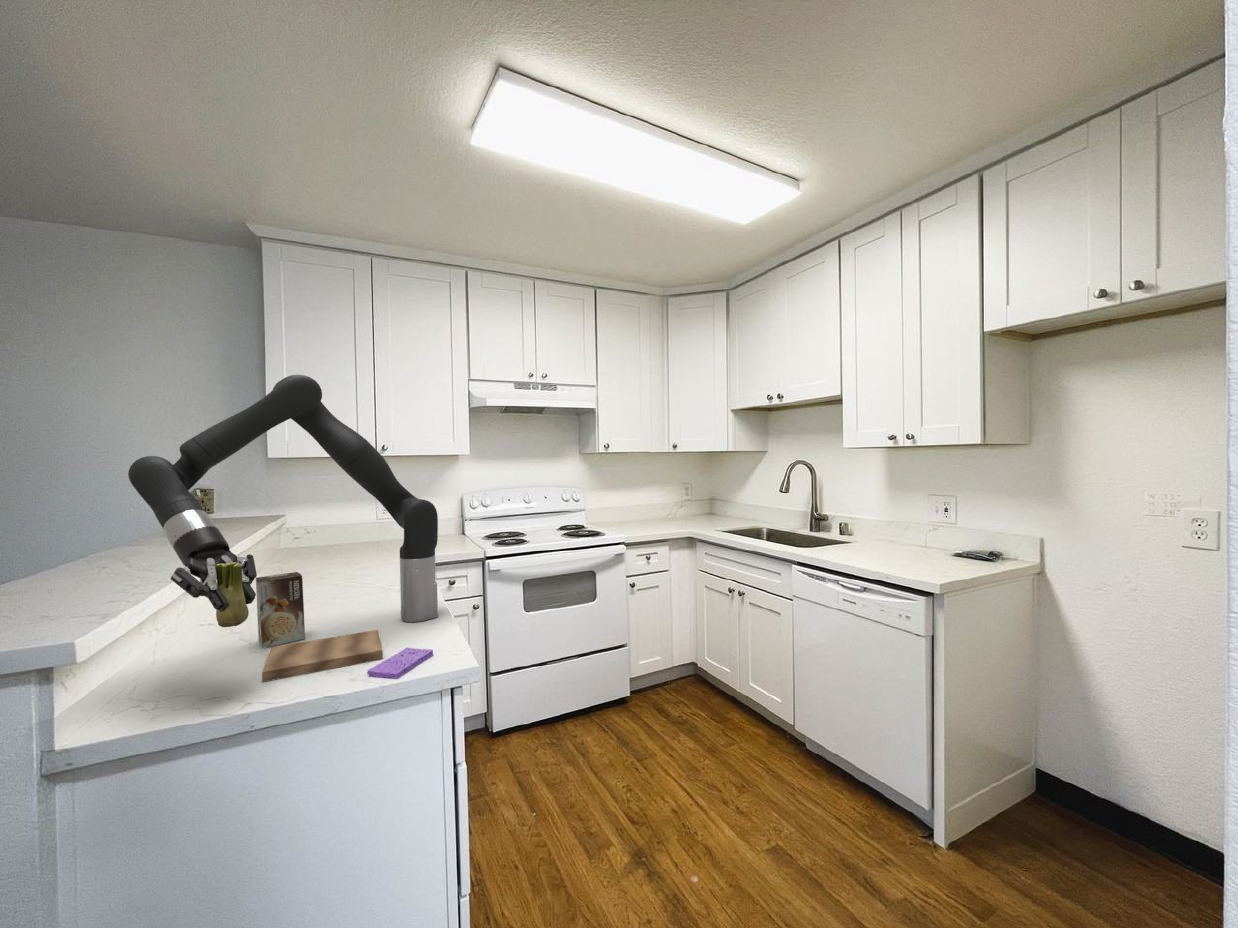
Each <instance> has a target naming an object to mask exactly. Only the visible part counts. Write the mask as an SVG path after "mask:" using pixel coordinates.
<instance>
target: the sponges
mask: <svg viewBox="0 0 1238 928" xmlns="http://www.w3.org/2000/svg"><path fill="white" fill-rule="evenodd" d="M432 656H434V649H432V648H431V649H429V648H423V649H422V648H414V647H405V648H403V649H402V650H400V651H399V652H397V653H396V654H394V655H391V656H390V657H388V658H386V659H384V660H383V661H381V662H379V663H378V664H376V665H375V666H372V667H370V668H369V669H367V672H366V673H367V674H366V675H368V676H369V678H378V679H379V678H381V679H389V680H398V679H400V677H402V676H403V675H406V673H409V672H410V671H411V670H413V669H414V668H416V667H418V666H419V665H421V664H422V663H423V662H425V661H427V660H428V659H429V658H431V657H432Z"/></svg>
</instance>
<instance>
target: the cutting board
mask: <svg viewBox="0 0 1238 928" xmlns="http://www.w3.org/2000/svg"><path fill="white" fill-rule="evenodd" d="M379 632H380V631H379V629H374V630H368V631H362V632H357V633H349V634H344V635H339V636H332V637H326V638H320V639H313V640H307V641H303V642H296V643H295V642H294V643H289V644H282V645H276V646H270V650H269V652H268V656H267V658H266V660H265V663H264V666H263V669H262V671H261V679H262V680H261V681H262V683H264V682H263V681H265V682H268V681H267V680H270V681H273V680H272V679H275V680H278V679H277V678H280V679H284V678H290V677H295V676H300V675H305V674H311V673H315V672H321V671H327V670H332V669H336V668H337V669H338V668H342V667H346V666H352V665H358V664H362V663H363V664H364V663H367V662H368V663H369V662H374V661H379V660H383V647H382V642H381V638H380V633H379Z"/></svg>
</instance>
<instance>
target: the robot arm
mask: <svg viewBox="0 0 1238 928" xmlns="http://www.w3.org/2000/svg"><path fill="white" fill-rule="evenodd" d="M322 398H323V392H322V388H321V385H320V384H319V383H318V382H317V381H316V380H315V379H314V378H312V377H310V376H308V375H304V374H291V375H288V376H285V377H283V378H282V379H281V380H278V382H276V383H275V384H274V386H273V388H272V390H271V391H270V392H269V393H268V394H266V395H265V396H263V397H262V398H260V400H258V401H256V402H254V403H253V404H252V405H250V406H247V408H245V409H243V410H241V411H240V412H237V413H235V414H233V415H231V416H230V417H228V418H226V419H224V420H221V421H219V422H218V423H216V424H214V425H212V426H210V427H208V428H206V429H205V430H204V431H201V432H199V433H198V434H197V435H195V436H193V437H191V438H190V439H188V440H186V441H185V442H183V443H182V444H181V445H180V446H179V453H180V457H179V458H178V459H177V461H176V462H175V463H174V464H173V463H172V462H171V461H170V460H168V459H166V458H164V457H161V456H156V455H147V456H142V457H140V458H138V459H136V460H135V461H133V463H131V465H130V466H129V469H128V472H127V473H128V480H129V482H130V484H131V486H132V487H133V488H134V489H135V490H136V492H137V493H138V495H140V497H141V498H142V499H143V500H144V501H145V502H146V504H147V505H148V506H149V507H150V509H151V511H153V514H154V515H155V518H156V519H157V521H158V523H159V524H160V526H161V527H162V529H163V531H164V533H165V536H166V539H167V541H168V542H169V544H170V545H171V547H172V548H173V551H174V552H175V553H176V555H177V557H178V558H179V560H180V562H181V563H182V565H183V567H176V569H175V570H174V572H173V573H172V575H171V577H170V580H171V582H173V583H174V584H176V585H177V586H178V587H179V588H180V589H182V590H184V591H185V592H186V593H187V594H188V595H190V596H191V597H192V598H194V599H197V598H199V597H205V598H206V599H208V601H209V602H210V604H211V605H212V607H213V608H214V610H219V611H220V612H221V611H225V610H226V609H227V607H228V606H229V603H228V601H227V600H226V598H225V596H224V595H223V593H222V592H221V590H220V589H218V590H217V588H218V587H217V575H218V574H217V570H216V565H217V564H223V563H224V564H228V563H229V564H230V566H231V563H233V562H236V563H237V564H241V565H242V586H243V592H244V596H245V601H246V605H249V604H252V603H253V602H254V600H255V599H256V597H257V594H256V591H255V590H254V588H253V586H252V583H253V581H254V580H256V578H257V576H258V575H257V569H256V563H255V559H254V555H253V554H250V553H249V554H247V555H246V556H237V555H236V554H235V553H234V552H232V551H231V549H230V546H229V543H228V541H227V540H226V538H225V537H224V536H223V534H222V532H221V531H220V529H219V527H217V525H216V523H215V521H213V519H212V517H211V516H209V515H208V514H207V512H206V511H205V509H204V507H203V506H202V505H201V503H200V501H199V500H198V499H197V498H196V496H194V495H193V494H192V493H191V492H190V491H189V490H191V489H192V488H193V487H194V486H195V485H196V484H197V483H198V482H199V481H200V480H202V478H203V477H204V476H205V475H206V474H207V472H208V471H209V470H210V469H212V468H213V467H215V466H216V465H218V464H220V463H221V462H223V461H225V460H227V459H228V458H229V457H231V456H233V455H234V454H235V453H236V454H237V452H240V450H241V449H243V448H245V447H246V446H247V445H250V443H251V442H254V441H255V440H256V439H257V438H259V437H260V436H262V435H263V434H265V433H267V432H268V431H269V430H271V429H273V428H275V427H277V426H279V425H281V424H282V423H284V422H286V421H288V420H290V419H291V420H292V421H293V422H295V423H296V424H297V425H298V426H299V427H301V428H302V429H303V430H304V431H306V432H307V433H308V434H309V436H311V437H312V438H313V439H314V440H315V441H316V442H317V444H318V445H320V447H321V448H322V449H323V451H324V452H326V454H328V455H329V457H330V458H331V459H332V460H333V461H334V462H335V463H336V464H337V466H339V467H340V468H341V469H342V470H343V472H345V473H346V474H347V475H348V476H349V477H350V478H351V479H352V480H354V481H355V482H356V483H357V484H358V485H359V486H360V487H362V489H363V490H365V491H366V492H368V494H370V495H371V496H372V497H374V498H375V500H377V501H378V502H379V503H380V504H381V505H382V507H384V509H385V510H386V511H387V513H388V514H389V515H390V516H391V517H392V518H393V520H394V521H395V522H396V523H397V525H398V526H399V527H400V528H402V529H403V543H402V545H401V547H400V548H399V580H400V581H399V583H400V584H399V586H400V587H399V588H400V589H399V590H400V593H399V594H400V620H401V621H402V620H403V622H406V623H407V622H408V623H417V622H424V621H428V620H431V619H433V618H438V617H439V612H438V611H439V608H438V603H439V601H438V599H439V598H438V583H437V578H436V574H437V573H436V547H437V545H438V537H439V536H438V535H439V530H438V529H439V527H438V526H439V517H438V510H437V508H436V506H435V505H434V503H432V502H431V501H429V500H426V499H420V498H418V497H417V496H415V495H413V494H412V493H411V492H410V491H409V490H408V489H406V488H405V487H404V486H403V484H401V483H400V482H399V480H398V479H397V478H396V476H395V475H394V473H393V471H392V469H391V467H390V466H389V463H388V461H386V459H385V457H384V456H383V455H382V454H381V453H380V452H379V450H377V449H376V448H375V447H374V446H373V445H372V444H371V442H370V441H368V440H367V439H366V438H365V437H363V436H362V435H361V434H360V433H358V432H357V431H355V430H354V429H353V428H351V427H349V426H348V425H347V424H345V423H343V422H342V420H339V419H338V418H337V417H336V416H335V415H334V414H332V412H331V411H330V410H329V409H328V408H327V407H326V405H324V403H322ZM196 577H197V578H198V579H197V578H196Z"/></svg>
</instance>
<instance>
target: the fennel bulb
mask: <svg viewBox="0 0 1238 928" xmlns="http://www.w3.org/2000/svg"><path fill="white" fill-rule="evenodd" d="M216 570H217V574H218V575H217V580H216V582H217V587H218V588H217V590H218V589H220V590H221V592H222V593H223V595H224V596H225V598H226V600H227V601H228V603H229V606H228V607H227V609H226V610H225V611H221V612H220V611H219V610H216V609H215V610H216V611H215V619H216V621H217V625H218V626H219V627H221V628H231V627H232V628H233V627H237V626H239V625H241V624H243V623H244V622H245V621H246V620H247V619H248V617H249V612H250V611H249V608H248V604H246V601H245V596H244V592H243V586H242V573H243V571H242V565H241V564H237V563H236V562H233V563H231V566H230V564H229V563H228V564H224V563H223V564H217V565H216Z"/></svg>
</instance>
